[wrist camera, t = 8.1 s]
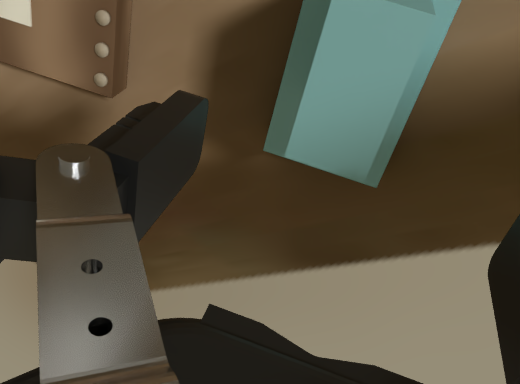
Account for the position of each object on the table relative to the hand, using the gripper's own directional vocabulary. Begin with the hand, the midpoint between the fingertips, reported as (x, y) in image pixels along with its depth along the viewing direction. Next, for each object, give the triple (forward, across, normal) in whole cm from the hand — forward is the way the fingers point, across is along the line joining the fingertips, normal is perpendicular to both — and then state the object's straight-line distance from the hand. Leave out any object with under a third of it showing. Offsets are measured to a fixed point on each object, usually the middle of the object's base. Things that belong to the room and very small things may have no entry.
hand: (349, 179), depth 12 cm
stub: (+12, +1, 0) cm, 12 cm away
